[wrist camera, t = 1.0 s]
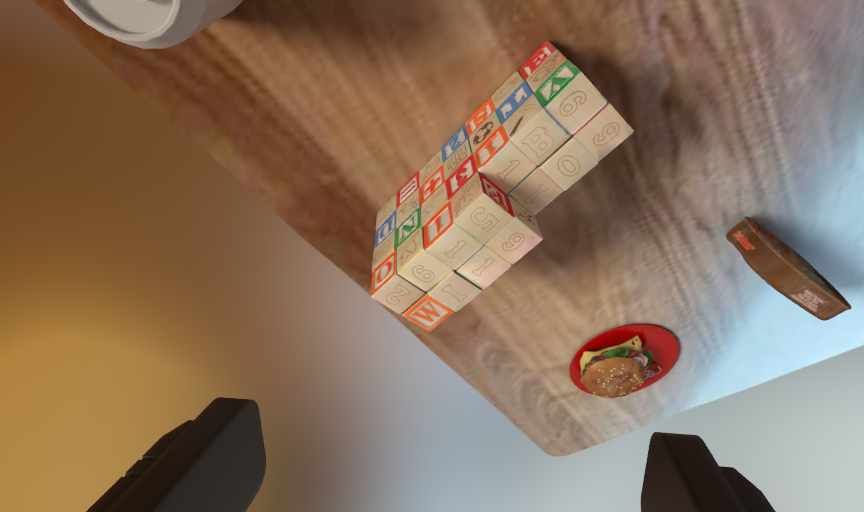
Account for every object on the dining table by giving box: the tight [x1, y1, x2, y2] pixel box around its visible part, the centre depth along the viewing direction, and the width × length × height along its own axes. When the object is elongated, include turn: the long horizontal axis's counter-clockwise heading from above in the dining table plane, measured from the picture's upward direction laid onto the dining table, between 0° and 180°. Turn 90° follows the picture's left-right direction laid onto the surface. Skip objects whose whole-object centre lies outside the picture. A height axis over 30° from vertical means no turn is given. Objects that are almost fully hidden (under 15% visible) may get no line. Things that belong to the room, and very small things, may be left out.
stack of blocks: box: [371, 40, 634, 331], centre depth 37 cm, size 21×6×12 cm, turn 138°
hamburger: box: [570, 325, 679, 398], centre depth 58 cm, size 14×14×6 cm
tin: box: [726, 217, 851, 320], centre depth 47 cm, size 15×3×8 cm, turn 57°
